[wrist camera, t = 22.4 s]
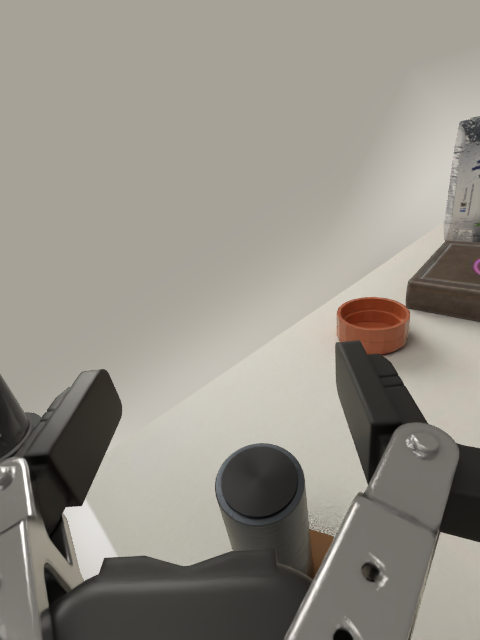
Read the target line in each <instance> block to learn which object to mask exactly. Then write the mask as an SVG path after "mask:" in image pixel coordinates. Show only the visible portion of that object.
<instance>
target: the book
mask: <svg viewBox="0 0 480 640" xmlns="http://www.w3.org/2000/svg"><path fill="white" fill-rule="evenodd" d="M406 308H411V309H417V310H422V311H427V312H432V313H438V314H443V315H448V316H454V317H459V318H464V319H469V320H475V321H480V243H478V242H462V241H447V240H446V241H445V242H444V243H443V244H442V246H441V247H440V248H439V249H438V250H437V251H436V252H435V253H434V254H433V255H432V256H431V257H430V259H429V260H428V261H427V262H426V263H425V264H424V265H423V266H422V267H421V268H420V269H419V270H418V272H417V273H416V274H415V275H414V276H413V277H412V278H411V279H410V280H409V281H408V286H407V292H406Z"/></svg>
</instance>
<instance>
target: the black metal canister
mask: <svg viewBox="0 0 480 640" xmlns="http://www.w3.org/2000/svg"><path fill="white" fill-rule="evenodd" d="M215 492H216V497H217V500H218V504H219V507H220V510H221V513H222V517H223V520H224V523H225V526H226V529H227V533H228V536H229V539H230V542H231V546H232V549H233V551H246V550H265V549H275V550H276V556H277V561H278V563H279V564H283V565H286V566H289V567H291V568H294V569H296V570H298V571H300V572H302V573H303V574H305V575H307V576H308V577H310V578H311V579H313V560H312V550H311V540H310V530H309V520H308V509H307V499H306V489H305V479H304V473H303V470H302V468H301V465H300V464H299V462H298V461H297V459H296V458H295V457H294V456H293V455H292V454H291V453H290V452H288V451H287V450H285V449H283V448H281V447H279V446H276V445H272V444H263V443H261V444H253V445H249V446H246V447H243V448H241V449H239V450H237V451H236V452H234V453H233V454H231V455H230V456H229V457H228V458H227V459H226V460H225V461H224V463H223V464H222V466H221V467H220V469H219V472H218V474H217V478H216V483H215Z"/></svg>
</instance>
